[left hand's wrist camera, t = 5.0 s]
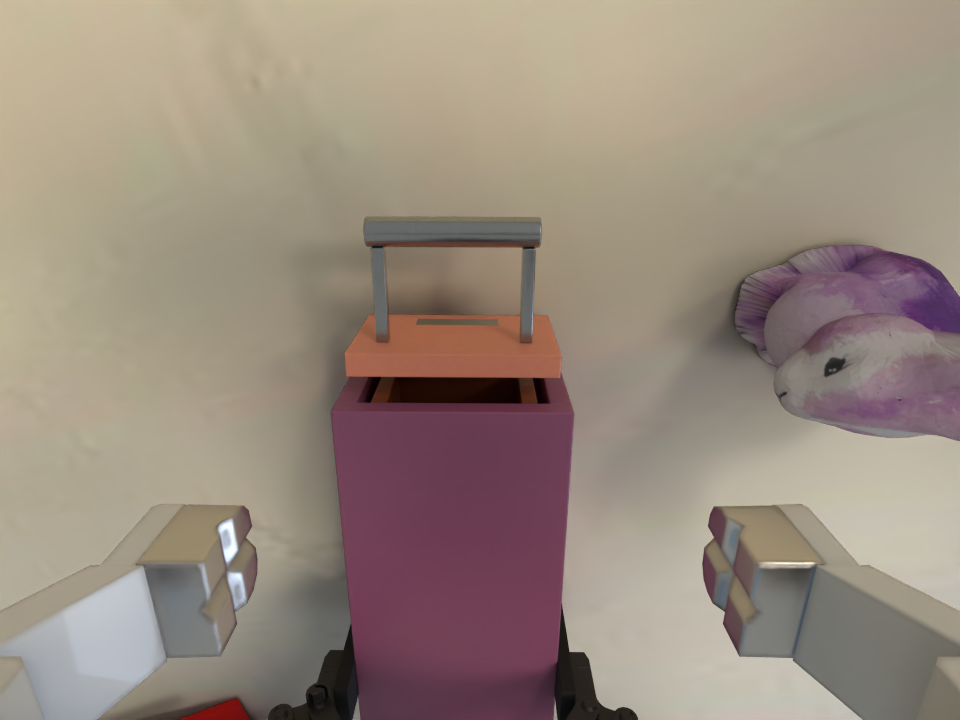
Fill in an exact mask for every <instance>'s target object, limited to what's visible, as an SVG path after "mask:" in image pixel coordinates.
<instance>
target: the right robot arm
mask: <svg viewBox="0 0 960 720" xmlns="http://www.w3.org/2000/svg"><path fill="white" fill-rule="evenodd" d="M357 697H358V687H357V677H356V667H355V657H354V647H353V636H352V626H351V625H350V629H349V632H348V636H347V640H346V643H345V647H344V650H330V651H329V653H328V654H327V655H326V656H325V658H324V662H323V665H322V668H321V672H320V675H319V678H318V681H317V683H315V684H313V685H312V686H310V687H309V689H308V690H307V692H306V700H307V703H305V704H304V705H301V706H298V707H295V708H292V707H291V706H290V705H288V704H280V705H278V706H276V707H274V708H273V709H272V710H271V712H270V713H269V717H268V720H352V719H353V715H354V710H355V706H356V701H357ZM555 701H556V710H557V718H558V720H638V717H637V715H636V713H634V712H633V711H632V710H631V709H629V708H625V707H621V708H618V709H617V710H616V711H613V710H610V709H607V708H605V707H604V706H602V705H601V704H600V703H599V702H598V700H597V698H596V694H595V689H594V683H593V678H592V673H591V669H590V663H589V659H588V658H587V656H586V655H585V653H584V652H569V646H568V640H567V634H566V628H565V621H564V615H563V609H562V603H561V617H560V632H559V646H558V661H557V673H556V688H555Z"/></svg>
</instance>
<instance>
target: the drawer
mask: <svg viewBox="0 0 960 720" xmlns="http://www.w3.org/2000/svg"><path fill="white" fill-rule="evenodd" d="M541 234H542V224H541V218H540V217H365V220H364V240H365V244H366V246H367V247H371V263H372V278H373V294H374V310H375V315H369V316H368V317H367V319H366V321H365V322H364V324H363V325H362V327H361V328H360V330H359V332H358V333H357V335H356V336H355V338H354V339H353V341H352V343H351V344H350V346H349V347H348V349H347V350H346V352H345V354H344V358H345V369H346V376H347V377H381V380H380V382H379V384H378V387H377V389H376V391H375V394H374V396H373V398H372V401H371V403H496V404H538V403H537V398H536V392H535V387H534V382H533V378H560V374H561V357H562V356H561V353H560V350H559V347H558V344H557V341H556V338H555V335H554V332H553V330H552V327H551V324H550V321H549V318H548V316H539V315H533V308H534V281H535V255H536V249H535V248H539V247H540V245H541ZM385 247H515V248H522V267H521V301H520V315H389V306H388V287H387V269H386V250H385Z"/></svg>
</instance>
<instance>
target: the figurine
mask: <svg viewBox="0 0 960 720" xmlns="http://www.w3.org/2000/svg"><path fill="white" fill-rule="evenodd" d="M739 295H740V297H739V298H738V300H739V302H738V303H737V304H738V306H737V307H736V309H737V310H736V311H735V313H736V315H735V322H734V323H735V325H736V330H737V331H738V333H739V334H740V335H741V337H742V338H744V339H745V340H747V341H749V342H751V343H753V344H755V345H756V346H757V351H758V353H759V356H760V357H761V358H762V359H763V360H764V361H765V362H767V363H770V364H771V365H775V366H776V367H777V368H778V369H777V371H776V373H775V377H774V391H775V393H776V395H777V397H778V399H779V401H780V403H781V405H782V406H783V407H784V408H785V410H787V411H788V412H790V413H791V414H793V415H795V416H798V417H801V418H804V419H808V420H813V421H818V422H821V423H824V424H828V425H832V426H836V427H838V428H841V429H844V430H847V431H850V432H854V433H859V434H864V435H871V436H879V437H887V438H905V437H915V436H922V435H938V436H943V437H946V438H950V439H953V440H957V441H960V297H959V295H958V294H957V293H956V291H955V290H954V288H953V287H952V286H951V284H950V283H949V281H948V280H947V279H946V278H945V276H944V275H943V274H942V272H941V271H940V270H938V269H937V268H935V267H934V266H932V265H931V264H929V263H927V262H925V261H923V260H921V259H919V258H915V257H911V256H907V255H903V254H898V253H894V252H888V251H885V250H882V249H880V248H876V247H872V246H865V245H854V246H827V247H821V248H816V249H811V250H805V251H804V252H802V253H800V254H798V255H797V256H795V257H793V258H791V259H789V260H787V262H785V263H784V264H782V265H777V266H775V267H772V268H768V269H764V270H761V271H758V272H755V273H753V274H752V275H750V276H748V277H747V278H746V279H745V281H744V283H743V284H742V285H741V289H740V294H739Z"/></svg>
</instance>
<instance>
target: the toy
mask: <svg viewBox="0 0 960 720" xmlns="http://www.w3.org/2000/svg"><path fill="white" fill-rule="evenodd" d="M179 720H250V718H249V716H248V715H247V713H246V712H245V710H244V708H243V707H242V705H241V704H240V702H239V700H238V699H237V698H236V699H233V700H230V701H228V702H225V703H222V704H219V705H217V706H214V707H211V708H209V709H206V710H203V711H201V712H198V713H195V714H193V715H190V716H187V717H185V718H182V719H179Z"/></svg>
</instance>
